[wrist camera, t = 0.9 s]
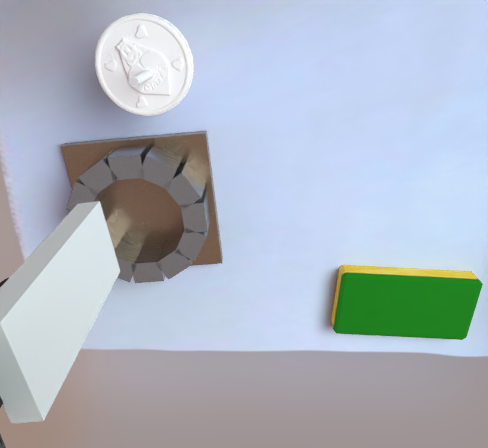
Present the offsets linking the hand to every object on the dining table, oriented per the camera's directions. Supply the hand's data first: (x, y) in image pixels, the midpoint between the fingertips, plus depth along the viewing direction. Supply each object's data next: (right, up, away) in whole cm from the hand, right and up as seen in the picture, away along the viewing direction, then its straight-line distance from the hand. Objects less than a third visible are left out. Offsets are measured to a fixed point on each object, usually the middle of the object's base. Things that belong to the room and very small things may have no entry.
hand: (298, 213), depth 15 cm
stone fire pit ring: (-11, +2, +29) cm, 31 cm away
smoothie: (-8, +14, +23) cm, 28 cm away
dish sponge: (+15, -8, +33) cm, 37 cm away
